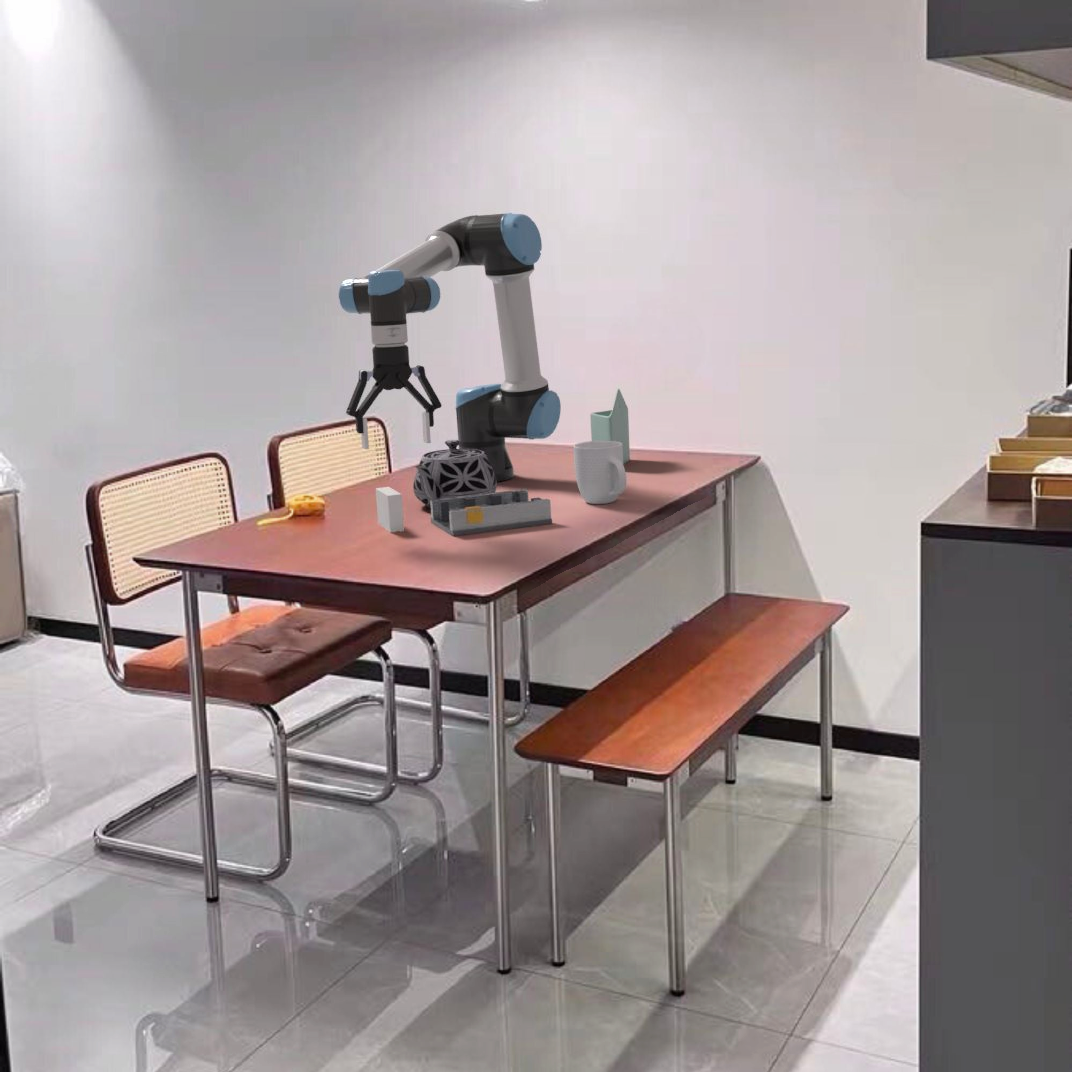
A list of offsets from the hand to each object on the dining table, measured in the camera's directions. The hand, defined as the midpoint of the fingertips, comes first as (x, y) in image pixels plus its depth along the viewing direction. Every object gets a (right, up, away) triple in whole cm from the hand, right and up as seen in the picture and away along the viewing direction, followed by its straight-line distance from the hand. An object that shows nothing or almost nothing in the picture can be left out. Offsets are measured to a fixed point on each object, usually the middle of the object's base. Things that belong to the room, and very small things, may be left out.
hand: (396, 445), depth 313 cm
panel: (-2, -17, +4) cm, 18 cm away
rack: (+20, -16, +3) cm, 26 cm away
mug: (+45, -12, +19) cm, 50 cm away
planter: (+48, -1, +66) cm, 82 cm away
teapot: (+11, -12, +24) cm, 29 cm away
